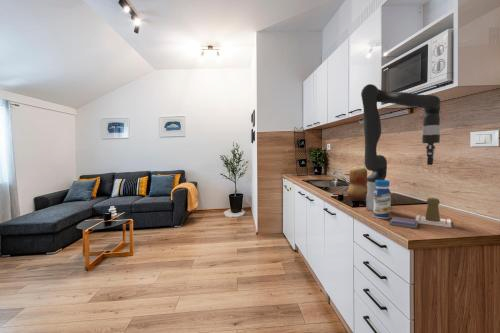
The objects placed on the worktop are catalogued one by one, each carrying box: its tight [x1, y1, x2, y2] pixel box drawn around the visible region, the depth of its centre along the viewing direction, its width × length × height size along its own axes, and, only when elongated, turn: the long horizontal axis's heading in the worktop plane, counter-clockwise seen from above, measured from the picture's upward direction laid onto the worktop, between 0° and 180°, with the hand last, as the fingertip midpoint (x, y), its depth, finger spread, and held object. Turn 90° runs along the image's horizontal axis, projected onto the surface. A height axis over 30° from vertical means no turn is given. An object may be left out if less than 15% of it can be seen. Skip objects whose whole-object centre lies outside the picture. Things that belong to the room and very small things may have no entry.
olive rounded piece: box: [425, 197, 441, 222], centre depth 120 cm, size 6×6×11 cm
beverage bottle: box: [372, 179, 392, 220], centre depth 130 cm, size 8×8×20 cm
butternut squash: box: [346, 165, 368, 203], centre depth 170 cm, size 14×13×25 cm
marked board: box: [414, 215, 452, 229], centre depth 120 cm, size 14×12×1 cm
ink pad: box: [388, 216, 419, 230], centre depth 118 cm, size 11×10×2 cm
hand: (430, 164), depth 130 cm, fingers open, 8 cm apart
